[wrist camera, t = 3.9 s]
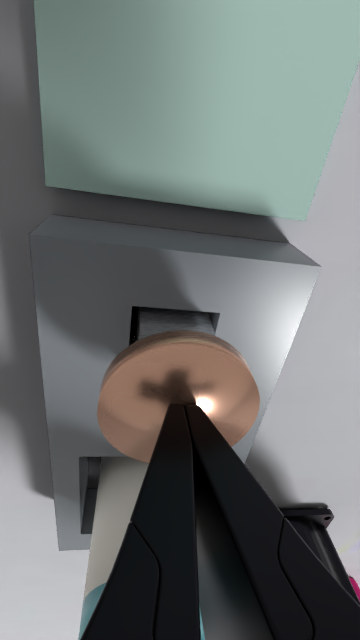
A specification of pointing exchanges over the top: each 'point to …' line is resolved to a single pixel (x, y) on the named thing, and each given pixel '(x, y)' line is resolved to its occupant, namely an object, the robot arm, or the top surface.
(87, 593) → the cylinder
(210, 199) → the mat
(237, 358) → the plunger
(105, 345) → the housing
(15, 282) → the top surface
